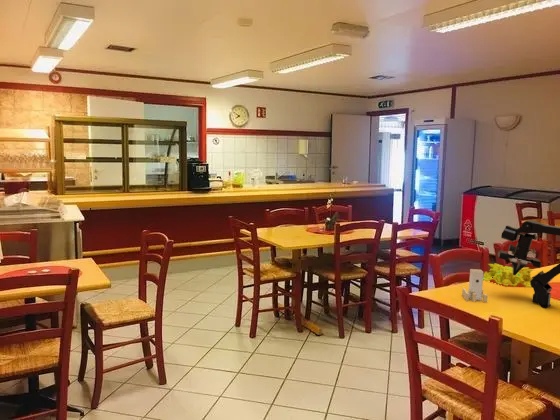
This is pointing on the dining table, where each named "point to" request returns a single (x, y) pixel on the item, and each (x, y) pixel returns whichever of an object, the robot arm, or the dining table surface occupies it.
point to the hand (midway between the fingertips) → (513, 274)
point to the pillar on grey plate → (476, 283)
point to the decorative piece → (508, 276)
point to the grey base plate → (473, 296)
